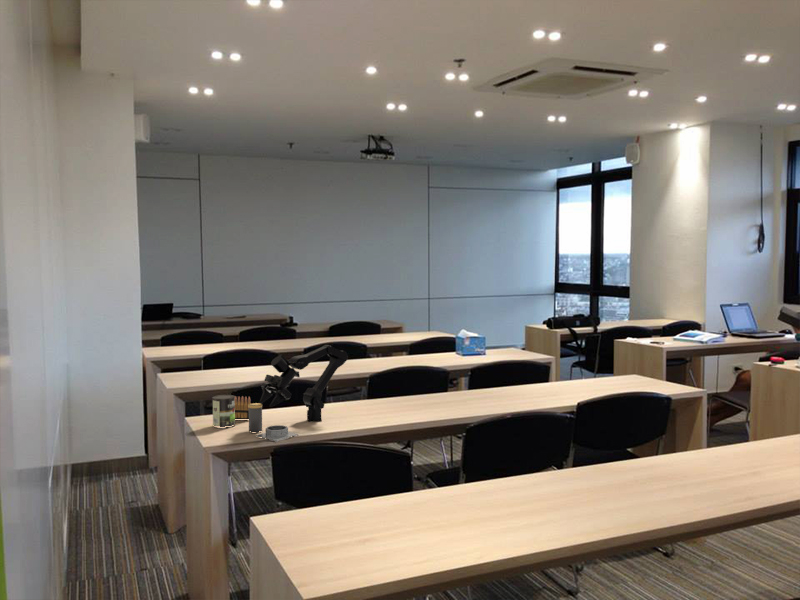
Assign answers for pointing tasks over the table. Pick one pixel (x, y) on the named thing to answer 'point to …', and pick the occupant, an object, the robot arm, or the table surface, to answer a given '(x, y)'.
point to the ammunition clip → (242, 408)
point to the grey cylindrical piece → (255, 417)
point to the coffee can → (223, 410)
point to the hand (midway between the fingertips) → (265, 405)
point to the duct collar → (277, 433)
